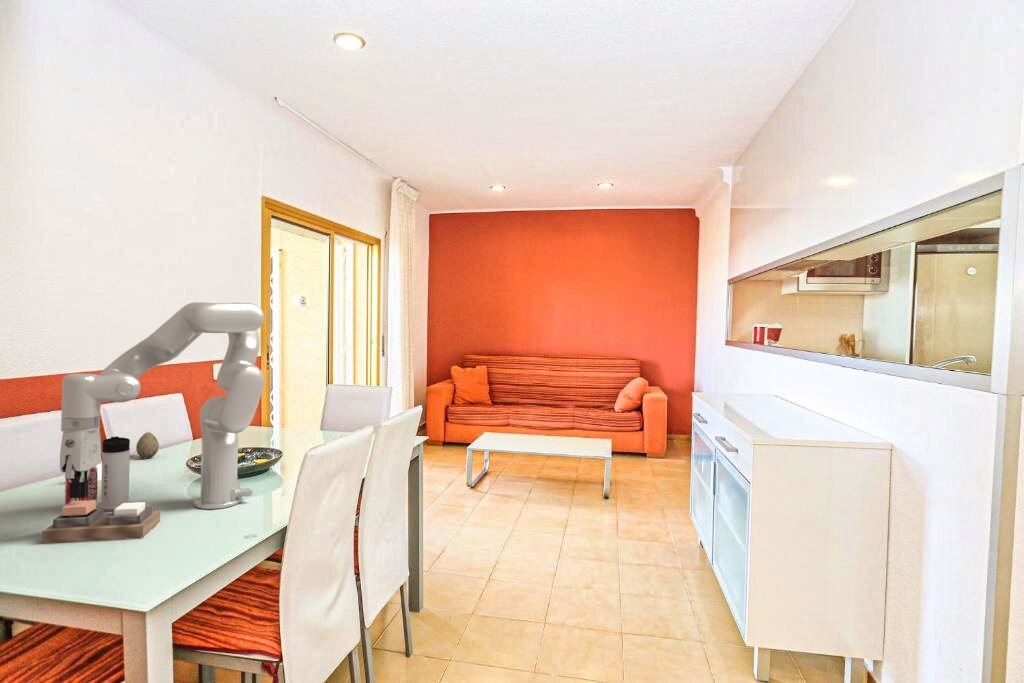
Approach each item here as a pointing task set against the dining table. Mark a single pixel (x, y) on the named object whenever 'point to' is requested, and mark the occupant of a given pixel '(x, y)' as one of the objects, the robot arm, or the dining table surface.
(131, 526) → the board
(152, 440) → the decorative egg
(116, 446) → the travel mug
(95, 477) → the soda can
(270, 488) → the dining table surface
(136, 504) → the white key
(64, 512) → the terracotta key
